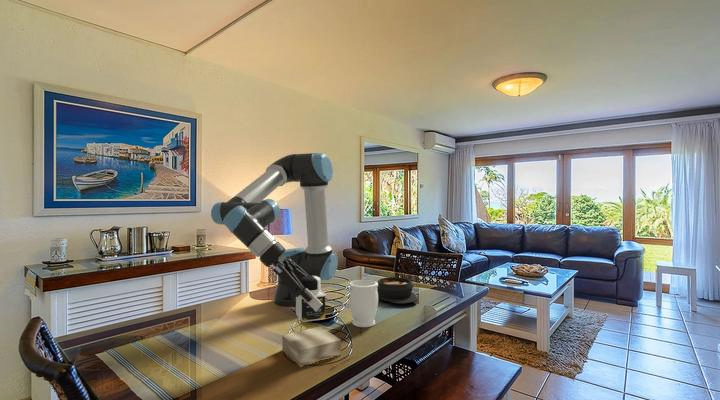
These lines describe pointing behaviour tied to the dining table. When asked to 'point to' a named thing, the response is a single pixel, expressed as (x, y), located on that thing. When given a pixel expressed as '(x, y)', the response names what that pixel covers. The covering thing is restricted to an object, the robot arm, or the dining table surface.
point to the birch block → (311, 345)
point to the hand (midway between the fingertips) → (321, 302)
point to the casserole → (396, 290)
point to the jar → (363, 302)
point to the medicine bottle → (303, 307)
